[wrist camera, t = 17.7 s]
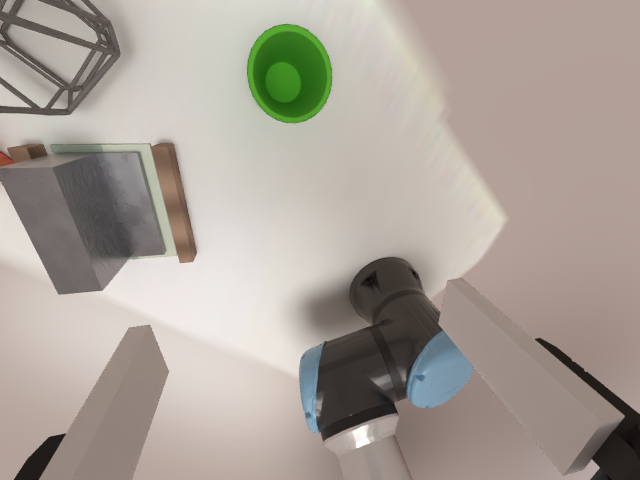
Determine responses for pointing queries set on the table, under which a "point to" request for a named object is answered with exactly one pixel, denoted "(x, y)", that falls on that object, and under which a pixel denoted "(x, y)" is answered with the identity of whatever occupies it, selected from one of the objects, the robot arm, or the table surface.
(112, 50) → the geometric lantern
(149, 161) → the pad
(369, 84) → the table surface
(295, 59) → the cup
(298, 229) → the table surface
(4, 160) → the cracker box
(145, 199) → the angle bracket
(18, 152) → the bay walls
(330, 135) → the table surface
